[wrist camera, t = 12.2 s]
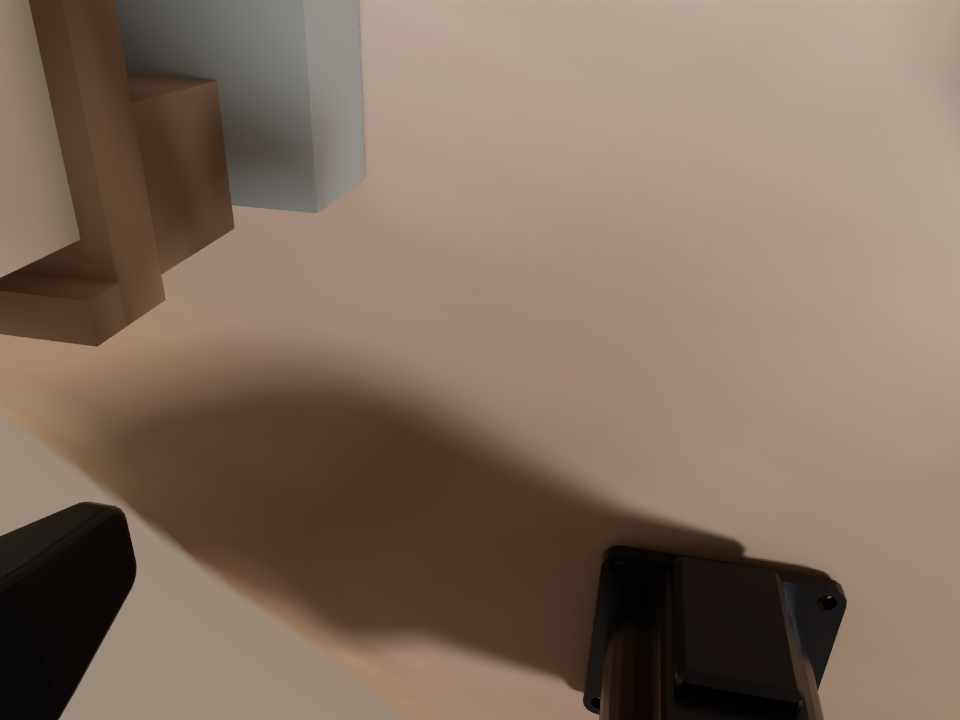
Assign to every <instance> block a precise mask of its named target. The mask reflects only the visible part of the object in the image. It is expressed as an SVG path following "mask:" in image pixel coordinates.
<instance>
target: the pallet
mask: <svg viewBox="0 0 960 720" xmlns="http://www.w3.org/2000/svg"><path fill="white" fill-rule="evenodd" d="M29 4H30V9H31V14H32V18H33V23H34V28H35V32H36V37H37V41H38V46H39V51H40V55H41V60H42V64H43V69H44V74H45V78H46V83H47V87H48V92H49V97H50V101H51V106H52V111H53V115H54V120H55V124H56V129H57V134H58V138H59V143H60V147H61V152H62V157H63V161H64V166H65V170H66V175H67V180H68V184H69V189H70V194H71V198H72V203H73V207H74V212H75V217H76V221H77V226H78V230H79V235H80V240H78V241H76V242H74V243H72V244H70V245H68V246H66V247H64V248H62V249H59V250H57V251H55V252H53V253H51V254H49V255H47V256H45V257H43V258H41V259H39V260H36V261H34V262H32V263H30V264H28V265H26V266H24V267H22V268H20V269H18V270H16V271H14V272H11V273H9V274H7V275H5V276H3V277H1V278H0V334H4V335H12V336H20V337H28V338H35V339H43V340H51V341H59V342H66V343H74V344H82V345H89V346H99V345H100V344H102V343H103V342H105V341H106V340H108V339H109V338H110V337H112V336H113V335H115V334H116V333H118V332H119V331H121V330H122V329H124V328H125V327H126V326H128V325H129V324H131V323H132V322H134V321H135V320H137V319H138V318H140V317H141V316H143V315H144V314H145V313H147V312H148V311H150V310H151V309H153V308H154V307H156V306H157V305H159V304H160V303H162V302H163V301H164V300H165V294H164V288H163V282H162V277H161V274H163V273H164V272H166V271H167V270H169V269H171V268H172V267H174V266H175V265H177V264H179V263H180V262H182V261H183V260H185V259H187V258H188V257H190V256H191V255H193V254H195V253H196V252H198V251H199V250H201V249H202V248H204V247H206V246H207V245H209V244H210V243H212V242H214V241H215V240H217V239H218V238H220V237H222V236H223V235H225V234H226V233H228V232H230V231H231V230H233V229H234V220H233V212H232V204H231V196H230V187H229V179H228V171H227V162H226V154H225V146H224V137H223V129H222V121H221V112H220V104H219V96H218V88H217V80H202V79H186V78H171V77H155V76H140V75H127V71H126V65H125V60H124V54H123V48H122V42H121V36H120V30H119V24H118V18H117V13H116V7H115V1H114V0H29Z"/></svg>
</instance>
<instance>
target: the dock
mask: <svg viewBox="0 0 960 720" xmlns="http://www.w3.org/2000/svg"><path fill="white" fill-rule="evenodd" d="M114 1H115V7H116V13H117V18H118V24H119V30H120V36H121V42H122V48H123V54H124V60H125V65H126V71H127V75H140V76H155V77H171V78H186V79H202V80H217V88H218V96H219V104H220V112H221V121H222V129H223V137H224V146H225V154H226V162H227V171H228V179H229V187H230V196H231V204H232V205H236V206H247V207H257V208H268V209H279V210H289V211H300V212H310V213H318V212H320V211H321V210H322V209H324V208H325V207H326V206H328V205H329V204H331V203H332V202H333V201H335V200H336V199H337V198H339V197H340V196H341V195H343V194H344V193H345V192H347V191H348V190H350V189H351V188H352V187H354V186H355V185H356V184H358V183H359V182H360V181H362V180H363V179H364V178H365V158H364V131H363V104H362V77H361V49H360V22H359V0H114Z"/></svg>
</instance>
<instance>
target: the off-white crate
mask: <svg viewBox="0 0 960 720" xmlns="http://www.w3.org/2000/svg"><path fill="white" fill-rule="evenodd" d="M78 240H80V235H79V230H78V226H77V221H76V217H75V212H74V207H73V203H72V198H71V194H70V189H69V184H68V180H67V175H66V170H65V166H64V161H63V157H62V152H61V147H60V143H59V138H58V134H57V129H56V124H55V120H54V115H53V111H52V106H51V101H50V97H49V92H48V87H47V83H46V78H45V74H44V69H43V64H42V60H41V55H40V51H39V46H38V41H37V37H36V32H35V28H34V23H33V18H32V14H31V9H30V4H29V0H0V278H1V277H3V276H5V275H7V274H9V273H11V272H14V271H16V270H18V269H20V268H22V267H24V266H26V265H28V264H30V263H32V262H34V261H36V260H39V259H41V258H43V257H45V256H47V255H49V254H51V253H53V252H55V251H57V250H59V249H62V248H64V247H66V246H68V245H70V244H72V243H74V242H76V241H78Z"/></svg>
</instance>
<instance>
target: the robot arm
mask: <svg viewBox="0 0 960 720" xmlns="http://www.w3.org/2000/svg"><path fill="white" fill-rule="evenodd" d="M616 562H621V563H624V564H626V566H624V567H618V566H616V565H614V563H616ZM135 577H136V559H135V555H134V551H133V546H132V542H131V537H130V533H129V529H128V524H127V519H126V516H125V514H124V513H123V511H122V510H121V509H120V508H118V507H116V506H112V505H106V504H100V503H94V502H82V503H78V504H76V505H73V506H71V507H68V508H66V509H64V510H61V511H59V512H57V513H54V514H52V515H50V516H47V517H45V518H42V519H40V520H38V521H35V522H33V523H31V524H28V525H26V526H24V527H21V528H19V529H16V530H14V531H12V532H9V533H7V534H5V535H2V536H0V720H58V719H59V718H60V716H61V715H62V713H63V711H64V709H65V708H66V706H67V704H68V703H69V701H70V699H71V698H72V696H73V694H74V692H75V691H76V689H77V687H78V685H79V683H80V681H81V680H82V678H83V676H84V674H85V672H86V670H87V669H88V667H89V665H90V663H91V661H92V660H93V658H94V656H95V654H96V652H97V651H98V649H99V647H100V645H101V643H102V641H103V639H104V638H105V636H106V634H107V632H108V630H109V629H110V627H111V625H112V623H113V621H114V620H115V618H116V616H117V614H118V612H119V610H120V609H121V607H122V605H123V603H124V601H125V599H126V598H127V596H128V594H129V592H130V590H131V588H132V586H133V583H134V581H135ZM822 596H831V598H829V599H826V600H821V599H819V598H820V597H822ZM846 603H847V600H846V597H845V594H844V590H843V588H842V586H841V585H840V584H839V583H837V582H836V581H834V580H831V579H827V578H821V577H815V576H808V575H802V574H796V573H789V572H783V571H777V570H770V569H764V568H758V567H751V566H745V565H739V564H732V563H726V562H720V561H713V560H707V559H701V558H694V557H688V556H682V555H675V554H669V553H663V552H657V551H650V550H644V549H638V548H631V547H625V546H614V547H611V548H608V549H607V550H606V551H605V552H604V554H603V557H602V563H601V571H600V578H599V585H598V593H597V600H596V607H595V615H594V622H593V629H592V637H591V644H590V651H589V659H588V666H587V673H586V681H585V688H584V697H583V703H584V706H585V707H586V709H588V710H589V711H591V712H592V713H595V714H599V720H824V718H823V713H822V708H821V704H820V699H819V695H818V688H819V685H820V683H821V680H822V677H823V674H824V671H825V668H826V665H827V662H828V659H829V656H830V653H831V650H832V647H833V644H834V641H835V638H836V635H837V632H838V629H839V626H840V624H841V621H842V618H843V615H844V612H845V609H846ZM599 698H601V699H599Z"/></svg>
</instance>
